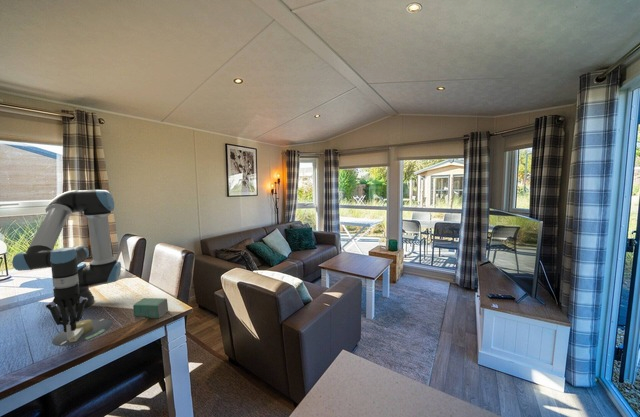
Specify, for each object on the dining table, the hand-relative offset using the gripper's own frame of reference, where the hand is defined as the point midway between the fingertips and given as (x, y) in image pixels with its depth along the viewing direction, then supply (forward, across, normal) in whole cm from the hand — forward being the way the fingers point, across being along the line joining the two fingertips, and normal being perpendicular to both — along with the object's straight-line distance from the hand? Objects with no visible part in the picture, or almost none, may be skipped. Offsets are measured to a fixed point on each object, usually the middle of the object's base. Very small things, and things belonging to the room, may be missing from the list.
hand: (70, 337), depth 106 cm
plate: (+3, +2, +7) cm, 8 cm away
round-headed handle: (+2, +2, +4) cm, 4 cm away
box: (+2, +27, +13) cm, 30 cm away
